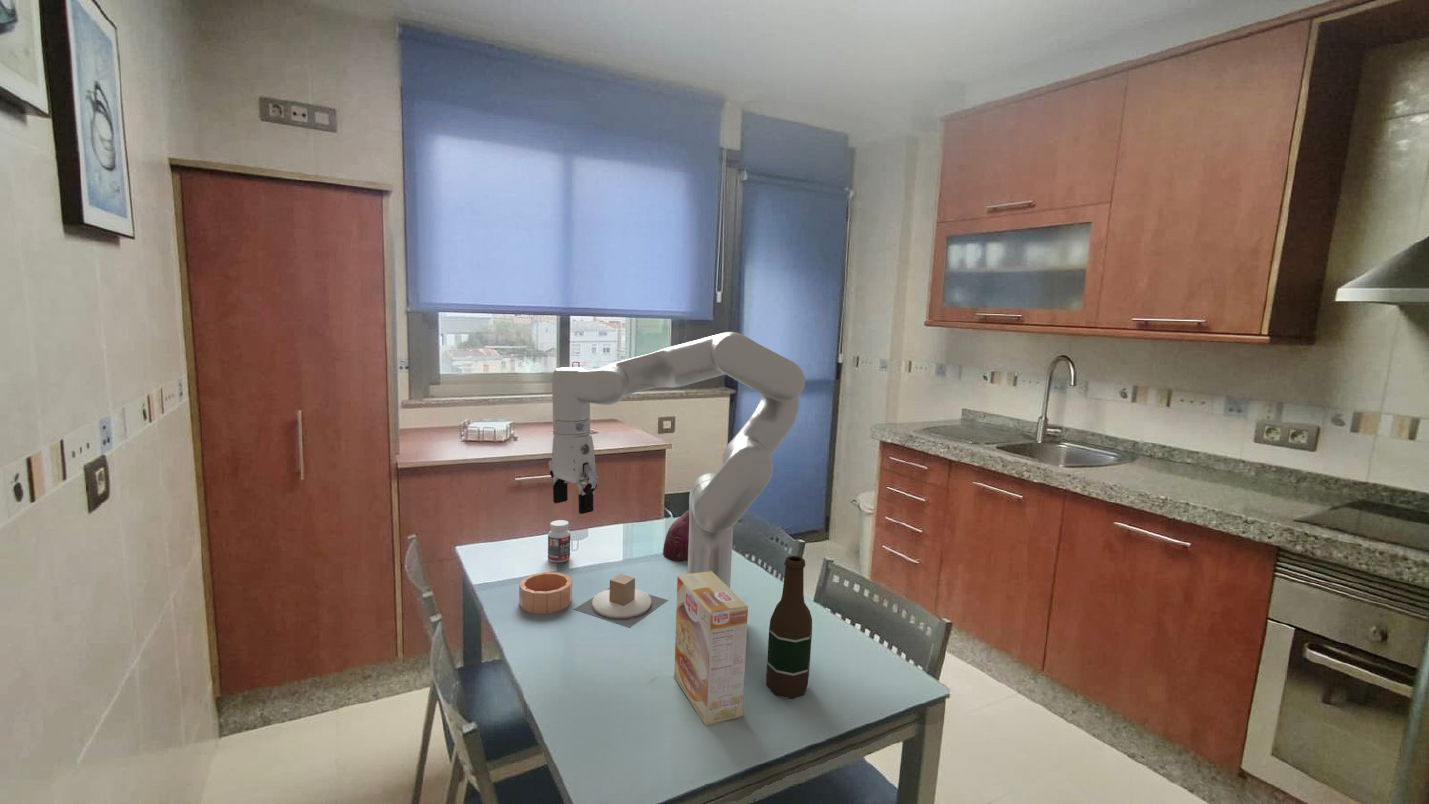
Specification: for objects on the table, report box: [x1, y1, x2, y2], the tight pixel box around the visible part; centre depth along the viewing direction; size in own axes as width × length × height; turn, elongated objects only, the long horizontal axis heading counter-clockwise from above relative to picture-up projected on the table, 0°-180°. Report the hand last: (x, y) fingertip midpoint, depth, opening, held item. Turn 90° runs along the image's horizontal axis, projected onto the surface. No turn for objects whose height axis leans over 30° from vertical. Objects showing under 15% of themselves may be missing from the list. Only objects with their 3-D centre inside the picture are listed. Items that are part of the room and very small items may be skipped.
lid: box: [592, 573, 651, 618], centre depth 138 cm, size 13×13×6 cm
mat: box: [573, 587, 669, 629], centre depth 139 cm, size 15×15×1 cm
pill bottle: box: [547, 519, 571, 564], centre depth 163 cm, size 6×6×10 cm
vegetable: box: [662, 509, 689, 563], centre depth 170 cm, size 10×10×15 cm
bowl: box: [518, 571, 573, 615], centre depth 138 cm, size 11×11×5 cm
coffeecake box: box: [673, 571, 749, 726], centre depth 106 cm, size 15×7×20 cm, turn 24°
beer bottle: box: [765, 555, 813, 699], centre depth 109 cm, size 8×8×24 cm
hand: (573, 507), depth 130 cm, fingers open, 9 cm apart
